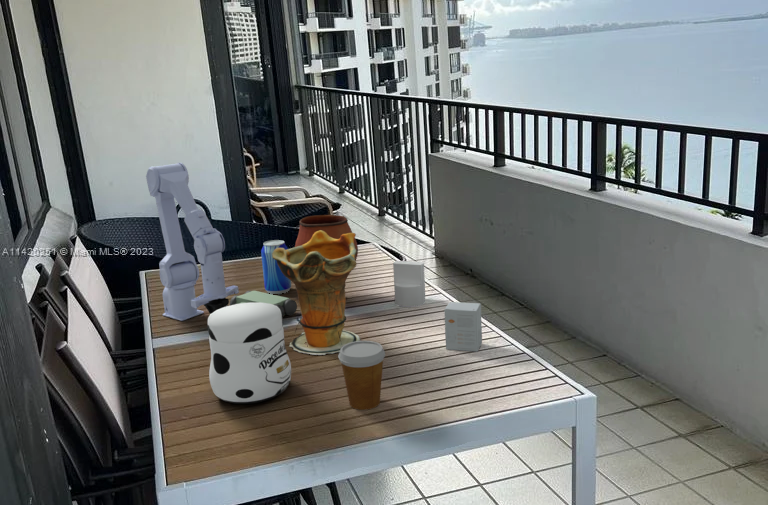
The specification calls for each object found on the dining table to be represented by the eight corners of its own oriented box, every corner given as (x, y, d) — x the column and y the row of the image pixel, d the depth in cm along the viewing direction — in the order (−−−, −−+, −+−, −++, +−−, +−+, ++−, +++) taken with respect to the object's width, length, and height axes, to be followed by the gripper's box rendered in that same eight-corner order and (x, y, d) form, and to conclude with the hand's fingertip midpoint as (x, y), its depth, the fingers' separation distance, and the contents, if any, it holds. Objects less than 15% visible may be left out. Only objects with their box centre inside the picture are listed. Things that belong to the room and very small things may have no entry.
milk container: (299, 402, 143) (291, 321, 138) (214, 417, 138) (203, 333, 134) (286, 370, 159) (279, 296, 154) (210, 382, 154) (200, 307, 150)
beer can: (286, 295, 214) (282, 245, 210) (261, 295, 215) (256, 245, 211) (295, 287, 222) (291, 239, 217) (270, 287, 223) (266, 239, 219)
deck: (217, 316, 198) (215, 302, 196) (254, 302, 208) (253, 288, 207) (260, 328, 187) (259, 312, 185) (297, 312, 197) (296, 297, 196)
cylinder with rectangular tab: (390, 305, 199) (388, 266, 196) (401, 296, 207) (399, 257, 204) (419, 308, 196) (418, 267, 193) (429, 298, 204) (428, 259, 201)
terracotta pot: (338, 313, 195) (332, 227, 189) (284, 305, 205) (277, 223, 198) (372, 293, 211) (368, 214, 205) (321, 286, 221) (315, 210, 214)
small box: (482, 343, 168) (481, 303, 166) (477, 352, 163) (477, 310, 161) (450, 341, 171) (449, 301, 168) (445, 349, 166) (443, 308, 163)
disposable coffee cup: (341, 394, 145) (337, 341, 142) (385, 390, 146) (383, 338, 143) (342, 415, 136) (338, 359, 133) (389, 411, 137) (387, 356, 134)
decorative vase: (264, 355, 167) (256, 242, 161) (306, 326, 188) (301, 226, 182) (342, 363, 160) (337, 246, 154) (377, 333, 181) (374, 229, 175)
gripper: (200, 286, 175) (206, 336, 179) (243, 272, 186) (248, 319, 190) (183, 282, 179) (189, 331, 183) (227, 269, 190) (232, 315, 194)
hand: (218, 325), depth 187 cm, fingers closed
